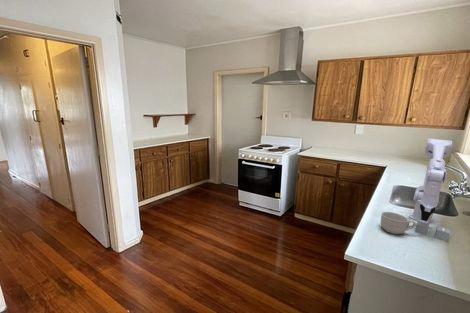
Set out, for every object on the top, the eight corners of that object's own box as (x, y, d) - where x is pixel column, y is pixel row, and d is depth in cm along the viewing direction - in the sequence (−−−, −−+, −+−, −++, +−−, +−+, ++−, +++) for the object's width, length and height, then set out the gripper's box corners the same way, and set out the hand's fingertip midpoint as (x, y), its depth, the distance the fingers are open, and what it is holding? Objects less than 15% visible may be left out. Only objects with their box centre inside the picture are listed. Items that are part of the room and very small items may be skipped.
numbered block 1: (434, 234, 110) (437, 225, 109) (447, 238, 107) (449, 229, 106) (434, 238, 107) (437, 229, 106) (447, 242, 104) (450, 233, 103)
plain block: (415, 228, 114) (417, 220, 113) (426, 232, 112) (429, 223, 110) (414, 232, 111) (416, 223, 110) (426, 235, 108) (428, 227, 107)
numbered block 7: (398, 222, 119) (400, 214, 118) (408, 226, 117) (410, 217, 115) (397, 226, 116) (399, 217, 115) (407, 229, 113) (410, 221, 112)
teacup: (377, 231, 111) (380, 216, 109) (380, 222, 119) (383, 208, 117) (413, 242, 102) (417, 226, 101) (413, 232, 111) (417, 217, 109)
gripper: (420, 187, 114) (414, 212, 118) (419, 196, 104) (412, 222, 107) (439, 191, 110) (432, 216, 113) (439, 200, 99) (432, 228, 103)
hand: (424, 220), depth 110 cm, fingers closed
